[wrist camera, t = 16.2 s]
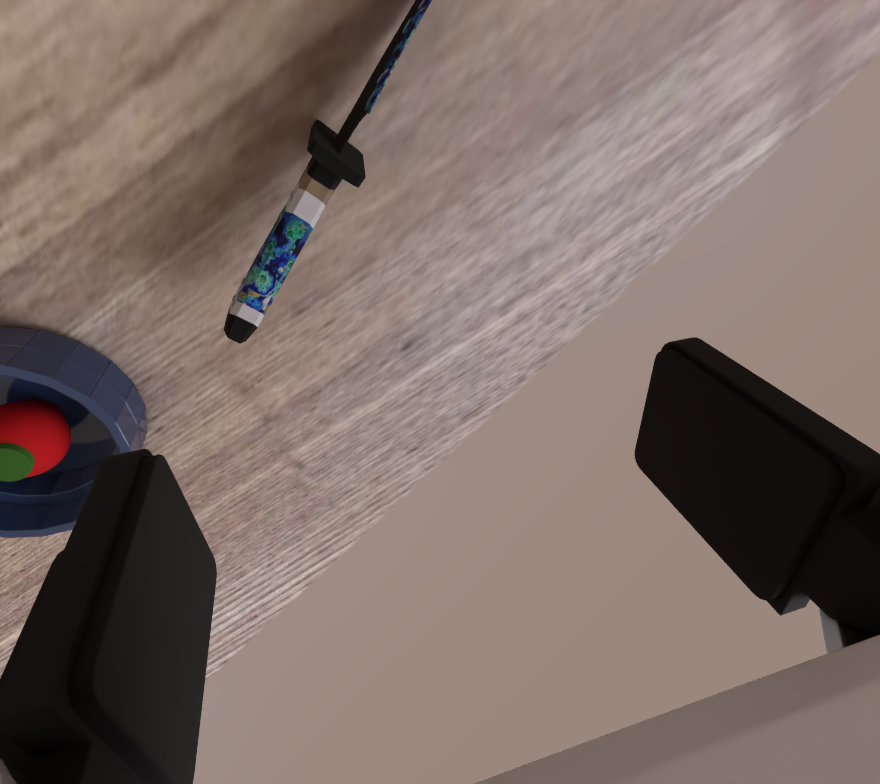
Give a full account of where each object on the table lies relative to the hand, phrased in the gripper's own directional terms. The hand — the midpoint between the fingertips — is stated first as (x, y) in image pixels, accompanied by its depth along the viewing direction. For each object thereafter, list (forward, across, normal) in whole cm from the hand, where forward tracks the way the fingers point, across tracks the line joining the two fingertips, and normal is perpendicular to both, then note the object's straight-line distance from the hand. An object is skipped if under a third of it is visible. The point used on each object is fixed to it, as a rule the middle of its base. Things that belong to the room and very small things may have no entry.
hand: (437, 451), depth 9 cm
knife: (+25, -3, -5) cm, 26 cm away
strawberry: (+24, +20, +11) cm, 34 cm away
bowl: (+25, +20, +11) cm, 34 cm away
